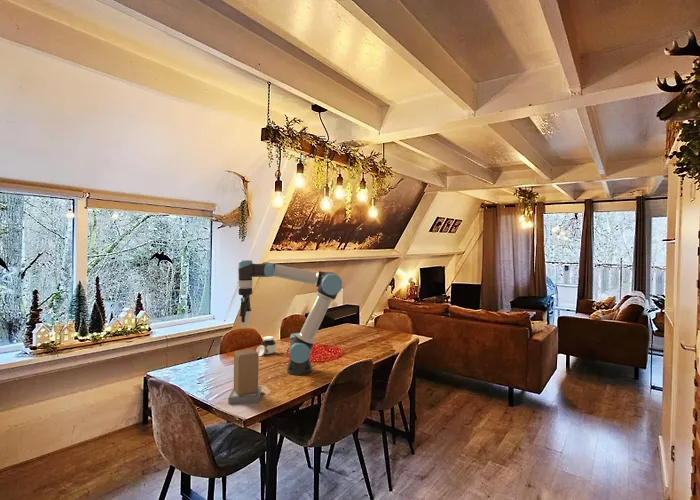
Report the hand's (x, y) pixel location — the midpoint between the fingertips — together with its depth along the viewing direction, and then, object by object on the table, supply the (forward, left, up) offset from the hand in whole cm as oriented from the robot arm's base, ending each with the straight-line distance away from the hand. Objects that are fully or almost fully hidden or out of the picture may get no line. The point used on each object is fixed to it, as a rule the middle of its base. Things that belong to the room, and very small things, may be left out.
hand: (245, 325), depth 214 cm
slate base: (-4, +24, -31) cm, 40 cm away
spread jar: (-6, -50, -32) cm, 59 cm away
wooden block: (-4, +24, -28) cm, 38 cm away
